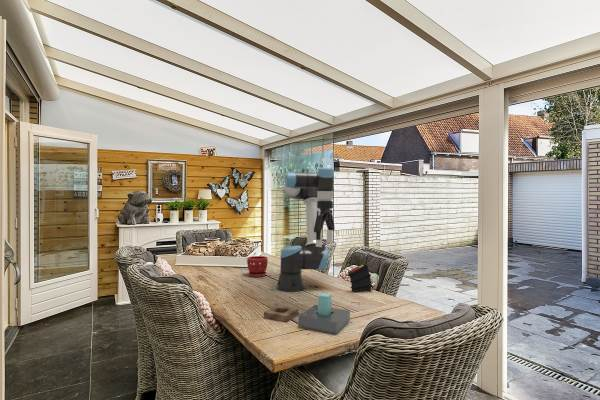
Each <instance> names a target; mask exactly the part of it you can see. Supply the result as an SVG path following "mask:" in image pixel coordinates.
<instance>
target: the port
mask: <svg viewBox="0 0 600 400" xmlns="http://www.w3.org/2000/svg"><path fill="white" fill-rule="evenodd" d="M297 319H298V323H297V324H298V328H302V329H307V330H312V331H316V332H317V331H318V332H323V333H327V334H332V335H337V334H338V333H339V332H340V331H342V330H343V328H344V327H346V326H347V324H349V323H350V321H351V311H350V310H348V309H343V308H342V309H341V308H337V307H331V315H330V316H323V315H318V304H314V305H312V306H310V307H309V308H308V309H306V310H304V311H303V312H302V313H301V314H300V313H299V315H298V318H297Z"/></svg>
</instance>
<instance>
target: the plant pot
mask: <svg viewBox="0 0 600 400" xmlns="http://www.w3.org/2000/svg"><path fill="white" fill-rule="evenodd" d="M268 258H269V257H267V256H263V255H255V256H254V255H252V256H248V257H247V258H246V264H247V266H246V267H247V269H248V275H249V276H250V277H252V278H262V277H264V276H265V277H266V275H267V272H266V271H267V268H268V261H269V260H268Z"/></svg>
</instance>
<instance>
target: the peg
mask: <svg viewBox="0 0 600 400" xmlns="http://www.w3.org/2000/svg"><path fill="white" fill-rule="evenodd" d="M317 305H318V315H323V316H330V315H331V308H332V294H331V293H324V292H322V293H320V294H318V303H317Z"/></svg>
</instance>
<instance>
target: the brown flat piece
mask: <svg viewBox="0 0 600 400" xmlns="http://www.w3.org/2000/svg"><path fill="white" fill-rule="evenodd" d="M299 311H300V309H299V308H297V307H290V306H284V305H278V304H276V305H274V306H272V307H270V308H269V309H267V310H265V311H263V319H268V320H273V321H277V322H278V321H279V322H283V323H288V322H290V321H291V320H293V319H294V318H296V317H297V316H299V315H300V313H299Z"/></svg>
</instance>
